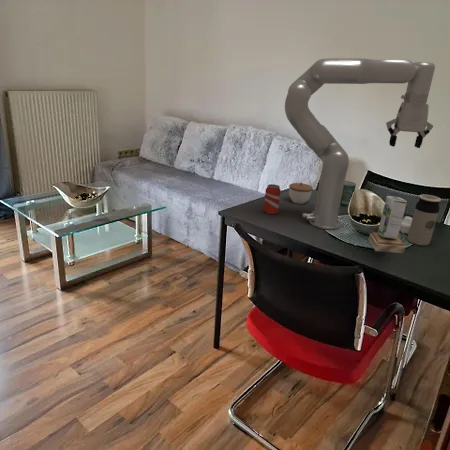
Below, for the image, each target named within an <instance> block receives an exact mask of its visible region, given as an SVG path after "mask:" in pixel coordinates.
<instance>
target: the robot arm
mask: <svg viewBox="0 0 450 450" xmlns="http://www.w3.org/2000/svg"><path fill="white" fill-rule="evenodd" d="M435 69H436V65H435V64H434V63H433V62H427V61H426V62H425V61H416V62H413V61H411V60H409V59H370V58H362V57H361V58H357V57H355V58H352V57H351V58H339V57H338V58H331V57H330V58H321V59H318V60H317V61H315V62H314V63H313V64H312V65H311V66H310V67H309V68H308V69H307V70H306V71H304V72H303V73H302V74H301V75H300V76H299V77H298V78H296V79H295V80H294V81H293V82H292V83H291V84H290V86H289V87H288V90H287V95H286V97H285V102H284V113H285V116H286V119H287V120H288V122H289V123H290V125H291V126H292V128H293V129H294V130H295V131H296V132H297V134H298V135H299V136H300V138H301V139H302V140H303V141H304V142H305V144H306V146H307V147H308V148H309V149H310V150H311V151H313V153H315V155H316V156H317V157H318V159H319V160H321V163H322V167H321V171H320V176H319V182H318V189H317V194H316V200H315V201H316V202H315V206H314V208H315V209H314V210H312V212H310V213H307V212H303V213H302V217H301V218H303V219H306V220H308V221H309V224H310V225H312V226H313V227H316V228H318V229H322V230H330V231H331V230H337V229H339V228H340V227H341V222H340V221H339V219H338V218H339V213H340V208H341V207H340V203H341V197H342V192H343V186H344V181H346V176H347V172H348V171H349V164H350V163H349V162H350V159H349V155H348V153H347V151H346V150H345V149H344V148H343V147H342V146H341V144H340V143H339V142H338V141H337V140H336V139H335V136H333V135H332V133H331V132H330V131H329V130H328V128H326V126H325V125H324V124H321V122H320V121H319V120H318V119H317V118H316V116H315V115H314V113H313V112H312V111H311V110H310V108H309V101H310V99H311V98H312V97H311V96H312V95H314V93H316V92H318V90H319V89H320V88H322V87H323V85H325V84H329V85H331V84H335V85H336V84H338V85H343V84H346V85H350V84H351V85H354V84H355V85H356V84H357V85H367V84H407V86H406V90H405V93H404V94H402V95H401V96H400V98H401V99H402V100H403V101H402V102H401V104H400V106H399V108H398V110H397V113H396V117H395V118H394V119H391V120H389V121H386V123H385V124H386V128H387V131H388V132H389V134H390V137H389V140H388V141H389V146H391V147H393V148H394V147H396V144H397V139H398V136H397V134H399V133H401V132H410V133H417V135H416V137H415V138H416V139H415V142H414V147H415V148H417V149H420V148H421V146H422V145H423V140H424V138H425V137H426V136H427V135H428V134H429V133H430V131H432V129H433V128H434V125H433V124H432V123H430V122H429V121H428V117H429V103H428V97H429V93H430V90H431V86H432V82H433V78H434V73H435ZM427 103H428V104H427ZM392 125H393V126H392ZM392 127H393V128H392Z"/></svg>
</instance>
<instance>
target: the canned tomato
mask: <svg viewBox="0 0 450 450" xmlns="http://www.w3.org/2000/svg"><path fill="white" fill-rule="evenodd" d="M356 186H357V184H356V183H355V182H354V181H350V180H349V181H348V180H345V181H344V186H343V192H342V197H341V203H340V208H343V209H349V208H348V205H349V202H350V199H351V197H352V194H353V192H354V193H355V191H356Z"/></svg>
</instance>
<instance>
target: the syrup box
mask: <svg viewBox="0 0 450 450" xmlns="http://www.w3.org/2000/svg"><path fill="white" fill-rule="evenodd" d="M385 198H386V199H385V202H384V207H383V210H382V214H381V218H380V222H379V227H378V230H377V233H378V234H380V235H381V236H382V237H386V238H394V239H397V238H398V237H399V234H400V232H401V231H400V227H401V223H402V220H403V219H404V215H405V210H406V206H407V202H408V201H407V200H405V199H403V198H402V197H398V196H394V195H393V196H392V195H387V196H386V197H385Z"/></svg>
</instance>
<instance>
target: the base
mask: <svg viewBox="0 0 450 450" xmlns="http://www.w3.org/2000/svg"><path fill="white" fill-rule="evenodd" d="M368 242H369V244H372V245H371V246H372V247H373V250H374V251H375V252H384V253H385V252H386V253H394V254H395V253H396V254H405V251H406V250H405V249H406V246H405V243H404V242H403V241H402V240H401V239H400V237H399V236H398V238H397V239H394V238H386V237H382V236H381V235H380V234H378V232H375V231H372V232H371V233H369V236H368Z"/></svg>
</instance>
